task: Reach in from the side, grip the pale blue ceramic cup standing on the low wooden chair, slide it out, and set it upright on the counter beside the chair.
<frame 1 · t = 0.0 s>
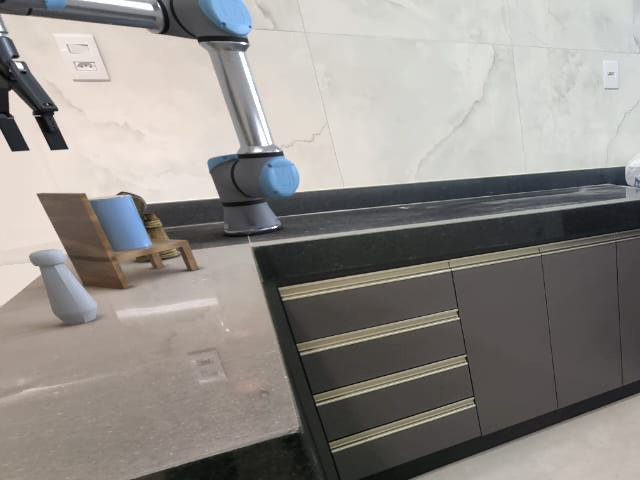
hand: (40, 150, 113), 28 cm above the counter, tool pointing down, fingers open, 13 cm apart
wooden chair: (143, 276, 124), on the counter
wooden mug: (157, 260, 140), on the counter
salt shaker: (82, 321, 97), on the counter
blue cup: (129, 247, 121), point 7 cm above the counter, touching wooden chair
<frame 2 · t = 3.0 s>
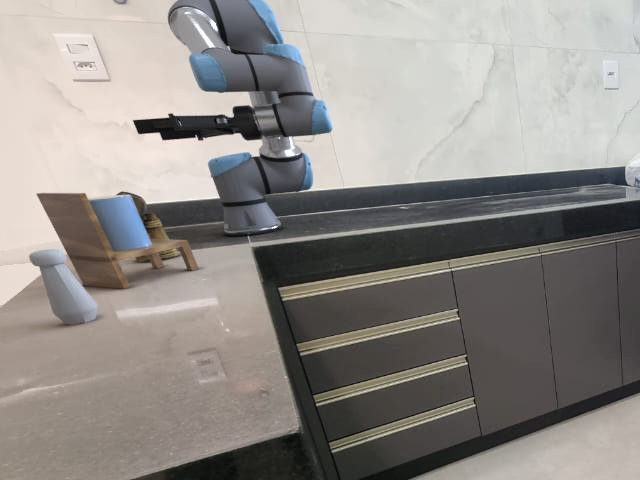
hand: (148, 130, 118), 31 cm above the counter, tool horizontal, fingers open, 13 cm apart
nothing on the counter moved.
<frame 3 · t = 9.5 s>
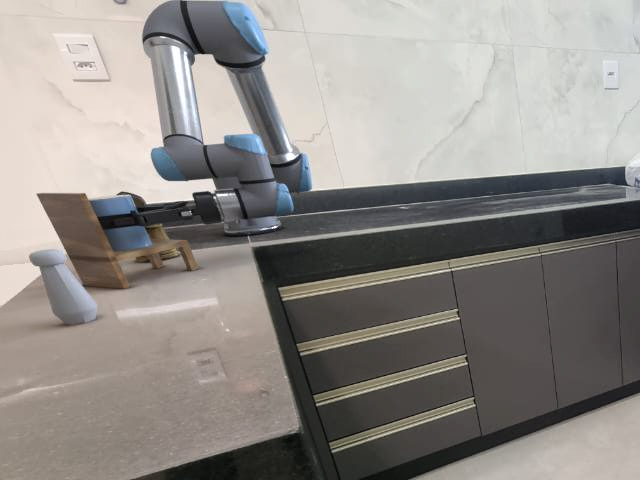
hand: (96, 220, 116), 14 cm above the counter, tool horizontal, fingers open, 11 cm apart
nothing on the counter moved.
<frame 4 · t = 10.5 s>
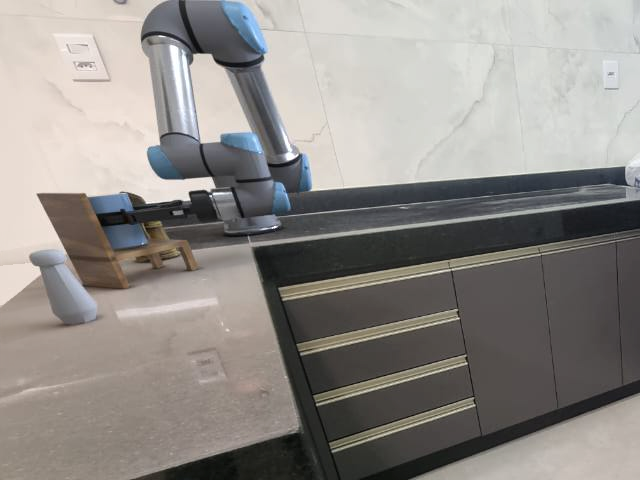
hand: (87, 219, 115), 14 cm above the counter, tool horizontal, fingers closed on blue cup, 8 cm apart
blue cup: (125, 245, 120), point 8 cm above the counter, touching gripper
everything else where it was.
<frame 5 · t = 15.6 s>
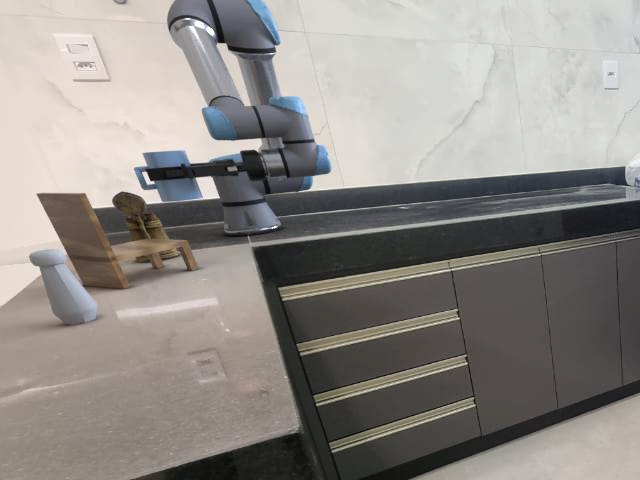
hand: (149, 173, 125), 22 cm above the counter, tool horizontal, fingers closed on blue cup, 8 cm apart
blue cup: (182, 199, 129), point 15 cm above the counter, touching gripper
everything else where it was.
when the fingers open (6 cm above the counter, at t = 20.5 s): blue cup stays where it is, on the counter.
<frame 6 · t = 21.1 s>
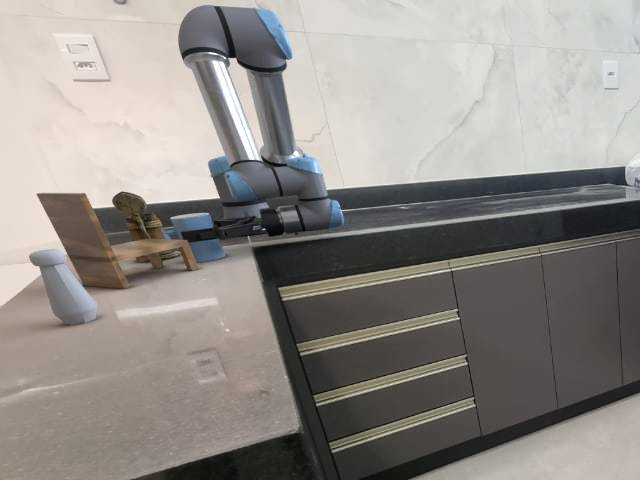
hand: (183, 233, 134), 7 cm above the counter, tool horizontal, fingers open, 13 cm apart
blue cup: (207, 258, 138), on the counter
everything else where it was.
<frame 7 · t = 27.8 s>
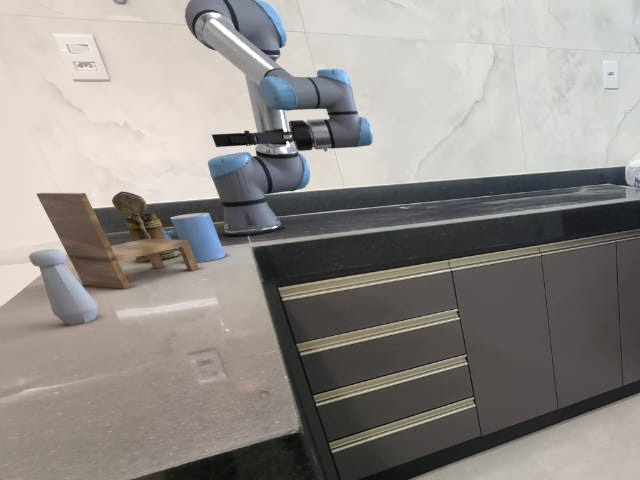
hand: (213, 140, 132), 28 cm above the counter, tool horizontal, fingers open, 13 cm apart
nothing on the counter moved.
at the end: blue cup inside the target area (0.6 cm from its centre), on the counter; blue cup tilted 0°; the gripper is holding nothing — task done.
